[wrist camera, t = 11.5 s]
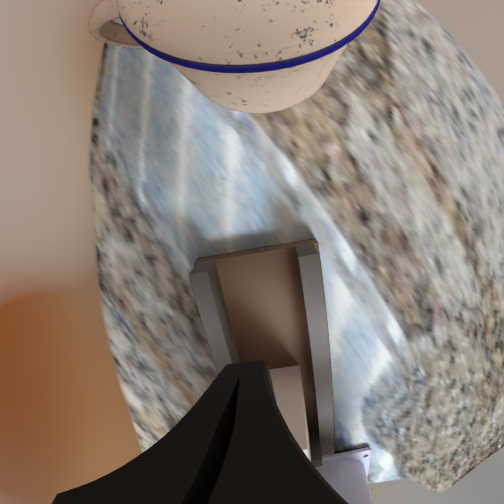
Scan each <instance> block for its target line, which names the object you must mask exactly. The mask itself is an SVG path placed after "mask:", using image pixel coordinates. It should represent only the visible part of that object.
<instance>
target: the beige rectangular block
mask: <svg viewBox="0 0 504 504" xmlns="http://www.w3.org/2000/svg"><path fill="white" fill-rule="evenodd" d="M269 370H270V375H271V380H272V384H273V389H274V393H275V398H276V403H277V405H278V408H279V410H280V412H281V414H282V416H283V418H284V420H285V422H286V424H287V426H288V428H289V430H290V431H291V433H292V435H293V436H294V438H295V440H296V441H297V443H298V444H299V446H300V447H301V449H302V450H303V452H304V453H305V455H306V456H307V458H308V459H309V460H310V461H311V453H310V442H309V431H308V423H307V415H306V408H305V400H304V393H303V385H302V378H301V371H300V365H298V366H291V367H284V368H277V369H269Z"/></svg>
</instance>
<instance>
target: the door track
mask: <svg viewBox="0 0 504 504" xmlns="http://www.w3.org/2000/svg"><path fill="white" fill-rule="evenodd" d="M194 266H195V267H194V269H193V270H192V271H191V272H190V274H189V278H190V282H191V285H192V289H193V293H194V296H195V300H196V303H197V307H198V310H199V314H200V317H201V321H202V324H203V327H204V331H205V334H206V337H207V341H208V344H209V347H210V350H211V354H212V357H213V360H214V363H215V366H216V369H217V372H218V374H219V373H220V372H221V370H222V369H223V368H224V367H225V365H226V364H235V363H245V362H254V361H263V360H264V361H266V362H267V363H268V366H269V369H277V368H284V367H291V366H298V365H300V371H301V378H302V385H303V393H304V400H305V408H306V415H307V423H308V431H309V442H310V453H311V463H312V464H313V465H314V466H315V467H319V466H323V465H322V456H326V455H332V454H334V407H333V388H332V372H331V358H330V345H329V333H328V323H327V312H326V303H325V294H324V285H323V277H322V269H321V261H320V253H319V246H318V242H317V240H316V239H310V240H304V241H298V242H292V243H286V244H280V245H274V246H268V247H262V248H256V249H250V250H244V251H239V252H233V253H227V254H221V255H215V256H209V257H203V258H198V259H197V260H196V262H195V263H194Z"/></svg>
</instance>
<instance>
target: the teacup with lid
mask: <svg viewBox="0 0 504 504" xmlns="http://www.w3.org/2000/svg"><path fill="white" fill-rule="evenodd" d="M379 3H380V0H103V1H102V2H100V3H99V4H98V5H97V6H96V7H95V8H94V9H93V11H92V13H91V15H90V18H89V23H88V29H89V32H90V33H91V34H92V36H94V37H95V38H97V39H98V40H100V41H103V42H105V43H108V44H111V45H116V46H121V47H128V48H144V49H146V50H147V51H149V52H150V53H152V54H154V55H156V56H157V57H159V58H161V59H164V60H166V61H168V62H170V63H171V64H172V65H173V66H174V67H176V68H177V69H178V70H179V71H180V72H181V73H182V74H183V75H184V76H185V77H186V78H187V79H188V80H189V81H190V82H191V83H192V84H193V85H194V86H195V87H196V88H197V89H198V90H199V91H200V92H201V93H202V94H203V95H205V96H206V97H207V98H209V99H210V100H212V101H213V102H215V103H217V104H219V105H221V106H223V107H226V108H229V109H232V110H235V111H240V112H246V113H269V112H275V111H280V110H284V109H287V108H290V107H292V106H295V105H297V104H299V103H301V102H302V101H304V100H306V99H307V98H309V97H310V96H311V95H312V94H314V93H315V92H316V91H317V90H318V89H319V88H320V87H321V85H322V84H323V83H324V82H325V80H326V79H327V77H328V75H329V74H330V72H331V70H332V69H333V67H334V65H335V64H336V62H337V60H338V59H339V57H340V56H341V54H342V52H343V51H344V49H345V47H346V46H347V44H348V43H349V42H351V41H352V40H353V39H354V38H356V37H357V36H358V35H359V34H360V33H361V32H362V31H363V30H364V29H365V28H366V27H367V26H368V24H369V23H370V21H371V20H372V19H373V17H374V15H375V13H376V11H377V9H378V6H379ZM119 17H120V19H121V21H122V23H123V25H121V24H118V23H115V22H113V21H111V20H113V19H116V18H119Z"/></svg>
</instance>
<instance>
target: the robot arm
mask: <svg viewBox="0 0 504 504" xmlns="http://www.w3.org/2000/svg"><path fill="white" fill-rule="evenodd" d="M370 457H371V448H369V447H366V448H361V449H357V450H352V451H347V452H342V453H336V454H332V455H326V456H322V465H323V466H319V467H315V466H314V465H313V464H312V463H311V461H310V460H309V459H308V458H307V456H306V455H305V453H304V452H303V450H302V449H301V447H300V446H299V444H298V443H297V441H296V440H295V438H294V436H293V435H292V433H291V431H290V430H289V428H288V426H287V424H286V422H285V420H284V418H283V416H282V414H281V412H280V410H279V408H278V405H277V403H276V398H275V393H274V389H273V384H272V380H271V375H270V370H269V366H268V363H267V362H266V361H264V360H263V361H254V362H245V363H235V364H226V365H225V367H224V368H223V369H222V370H221V372H220V373H219V374H218V376H217V377H216V378H215V380H214V381H213V382H212V384H211V385H210V386H209V388H208V389H207V390H206V392H205V393H204V394H203V395H202V396H201V398H200V399H199V400H198V401H197V403H196V404H195V405H194V406H193V407H192V408H191V410H190V411H189V412H188V413H187V414H186V415H185V416H184V417H183V418H182V419H181V420H180V421H179V422H178V423H177V424H176V426H174V427H173V428H172V429H171V430H170V431H169V432H168V433H167V434H166V435H165V436H164V437H162V438H161V439H160V440H159V441H158V442H156V443H155V444H154V445H153V446H152V447H150V448H149V449H148V450H146V451H145V452H143V453H142V454H140V455H139V456H138V457H136V458H135V459H133V460H131V461H130V462H128V463H127V464H125V465H124V466H122V467H120V468H118V469H117V470H115V471H113V472H111V473H109V474H107V475H105V476H103V477H101V478H99V479H97V480H95V481H92V482H90V483H88V484H85V485H82V486H80V487H77V488H74V489H71V490H68V491H65V492H62V493H59V494H57V495H56V497H55V499H54V501H53V502H52V504H372V499H371V494H370V490H369V485H368V480H367V476H368V470H369V464H370Z"/></svg>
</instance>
